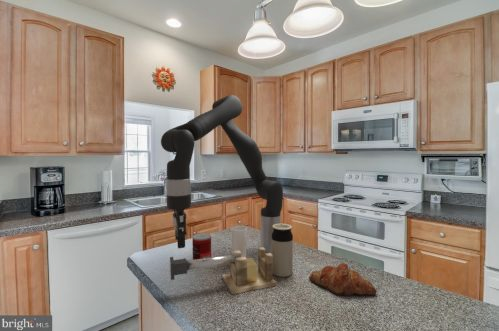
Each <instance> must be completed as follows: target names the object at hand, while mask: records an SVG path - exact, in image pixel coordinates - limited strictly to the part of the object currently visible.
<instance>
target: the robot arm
mask: <svg viewBox="0 0 499 331" xmlns="http://www.w3.org/2000/svg"><path fill="white" fill-rule="evenodd" d="M242 112H243V104H242V102H241V100H240V98H239V97H238V96H237V95H233V94H229V95H227V96H224V97H222V98H220V99H219V98H218V100H216V101H214V102H213V103H212V106H211V109H210V110H207V111H206V112H203V113H201V114H200V115H197V116H194V118H192V119H191V120H188V121H187V122H186V123H183V124H181V125H178V126H175V127H172V128H170V129H168V130H166V131H165V132H164V133H163V134H162V136H161V139H160V145H161V147H162V149H163V150H165V152H168V153H175V155H174V159H172V160H169V161H168V162H167V164H166V186H165V187H166V191H165V192H166V208H167V209H168V210H171V211H173V212H172V219H173V220H172V221H173V227H174V230H175V231H174V232H175V236H174V238H175V240H176V241H177V249H184V248H186V235H187V219H188V218H187V213H186V212H185V209H186V210H187V209H190V208H191V207H192V184H191V174H190V173H191V170H190V166H191V163H192V162H191V161H192V158H193V154H194V150H195V142H197V141H199V140H201V139H202V138H204V137H205V136H207V135H208V134H209V133H211V132H212V131H213V130H215V129H216V128H218V127H219V126H220V127H221V129H223V131H224V132H225V135H226V136H227V137H228V139H229V141H230V142H231V144H232V146H233V147H234V149H235V151H236V153H237V156H238V157H239V158H240V161H241V162H242V164H243V165H244V167H245V169H246V171H247V173H248V175H249V176H250V179H251V180H252V183H253V186H254V188H255V190H256V193H257V195H258V196H259V197H260V198H261V199H262V200H266V204H265V207H262V208H261V209H260V248H261V247H263V248H265V254H266V253H271V254H272V233H273V227H272V226H273V225H274V224H281V211H282V210H283V200H284V199H283V198H284V189H283V185H282V184H281V183H280V182H279V181H278V180H277V181H275V180H271V179H270V180H269V178H268V177H267V175H266V174H265V171H264V169H263V155H262V152H261V151H260V148H259V147H258V144H257V143H256V141H255V140H254V139H253V138H252V137H251V136H249V134H246V133H245V132H244V131H243V130H241V129H240V128H239V127H238V126H237V125H236V123H235V122H234V120H233V119H235V118H237V117H239V116H240V115H241V114H242Z"/></svg>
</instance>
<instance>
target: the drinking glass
mask: <svg viewBox="0 0 499 331" xmlns="http://www.w3.org/2000/svg"><path fill="white" fill-rule="evenodd" d="M230 243H231V252H232V251H240V252H241V257H246V258H247V247H248V227H247V226H242V225H238V226H237V225H236V226H233V227H231V228H230Z"/></svg>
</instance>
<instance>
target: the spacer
mask: <svg viewBox="0 0 499 331" xmlns="http://www.w3.org/2000/svg"><path fill="white" fill-rule="evenodd" d="M246 258H247V283H249V282H255V281H257V269H258V263H257V262H256V261H255V260H254V259H253V258H252V257H246Z"/></svg>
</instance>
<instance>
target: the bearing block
mask: <svg viewBox="0 0 499 331" xmlns="http://www.w3.org/2000/svg"><path fill="white" fill-rule="evenodd" d="M257 251H258V252H257V255H258V256H257V262H258V263H257V281H255V282H249V283H247V258H248V257H247V256H246V257H241V252H240V251H232V250H231V251H230V252H229V255H231V254H238V253H239V254H240V258H235V263H233V264H229V265H230V266H229V269H230V273H228V272H227V273H223V274H222V275H221V278H222V280H223V282H224V284H225V285H226V287H227V289H228V290H229V292H230V295H234V294H235V295H236V294H240V293H245V292H251V291H256V290H261V289H265V288H271V287H275V286H277V281H276V280H275V279H274V278H273V276H274V274H273V255H272V254H271V253H266V254H265V248H263V247H261V246H260V247H258V248H257Z"/></svg>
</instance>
